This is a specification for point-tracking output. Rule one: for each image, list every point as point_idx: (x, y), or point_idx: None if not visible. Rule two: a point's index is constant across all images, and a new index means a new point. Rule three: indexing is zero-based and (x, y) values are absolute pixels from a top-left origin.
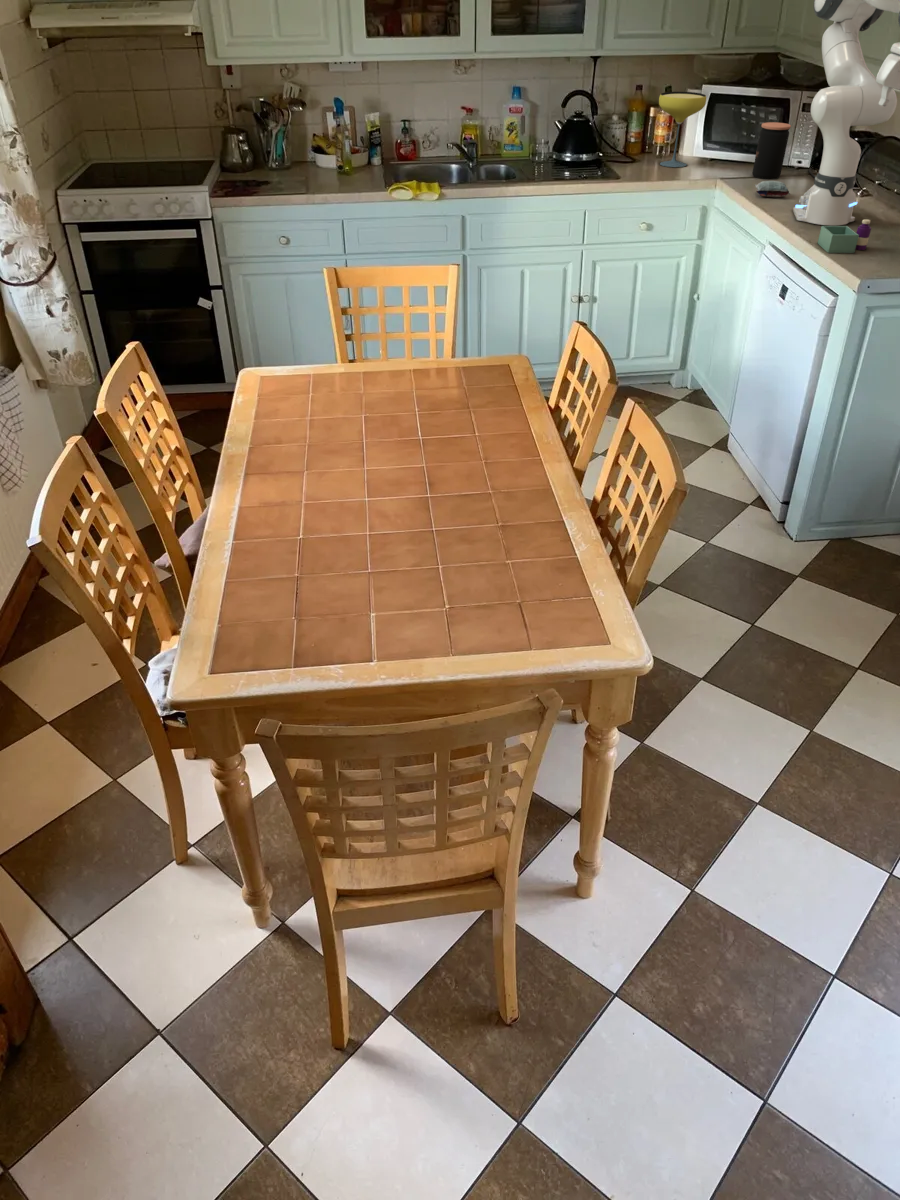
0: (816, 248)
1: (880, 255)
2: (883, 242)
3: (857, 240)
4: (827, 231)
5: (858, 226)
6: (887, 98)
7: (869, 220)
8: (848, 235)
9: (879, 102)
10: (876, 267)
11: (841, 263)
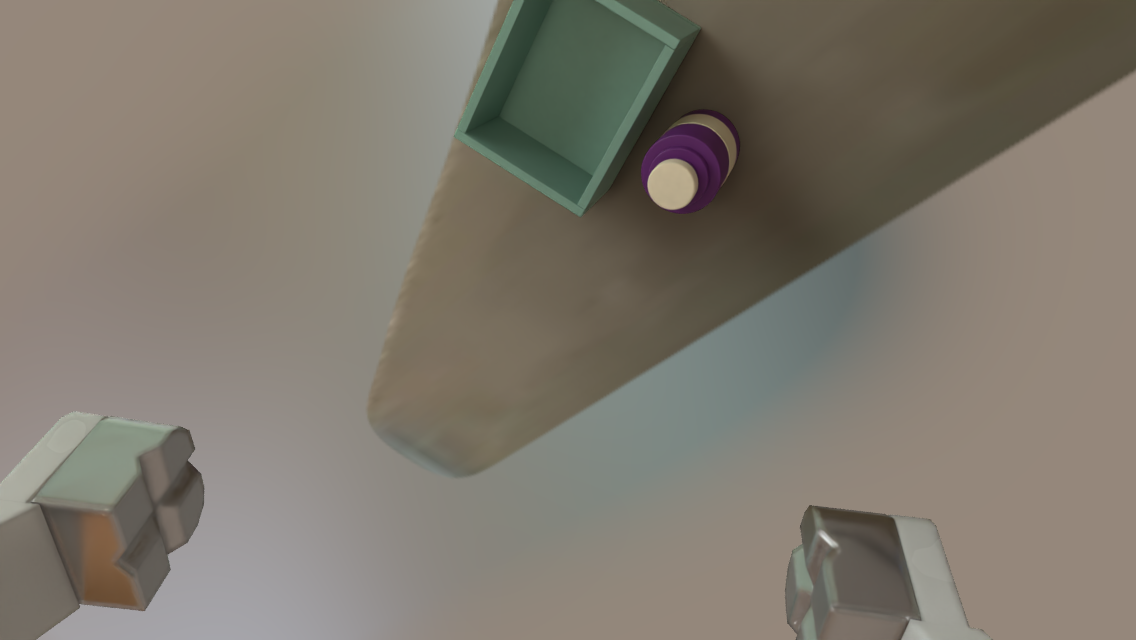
0: (497, 23)
1: (693, 287)
2: (945, 140)
3: (589, 208)
4: (488, 59)
5: (662, 140)
6: (59, 618)
7: (684, 198)
8: (530, 185)
9: (64, 432)
10: (526, 379)
11: (434, 262)
